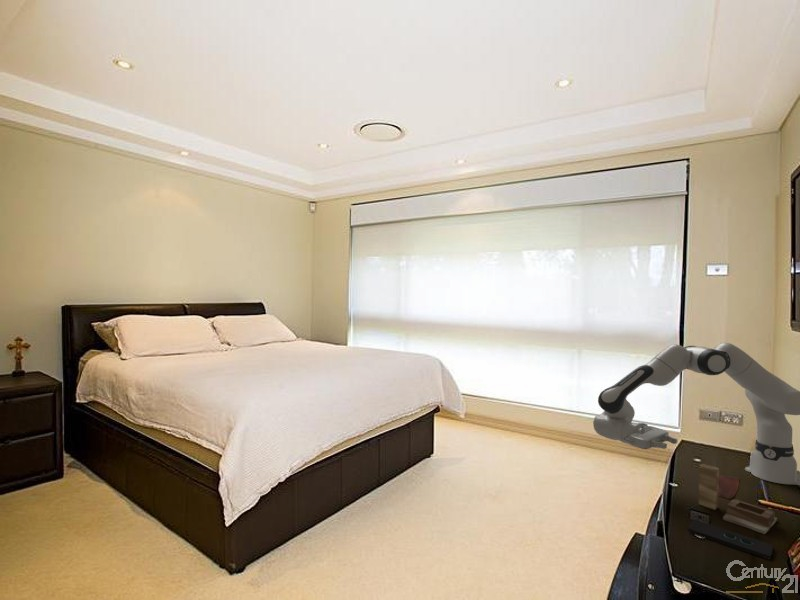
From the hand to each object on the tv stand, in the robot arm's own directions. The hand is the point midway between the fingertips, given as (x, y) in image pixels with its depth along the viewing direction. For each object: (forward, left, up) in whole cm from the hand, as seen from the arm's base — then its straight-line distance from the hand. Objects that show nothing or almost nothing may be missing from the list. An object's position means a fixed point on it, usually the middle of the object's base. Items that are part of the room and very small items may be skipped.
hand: (671, 444), depth 164 cm
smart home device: (+20, +24, -19) cm, 37 cm away
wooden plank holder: (0, +24, -19) cm, 31 cm away
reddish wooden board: (-25, +9, -20) cm, 33 cm away
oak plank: (0, +12, -19) cm, 22 cm away
